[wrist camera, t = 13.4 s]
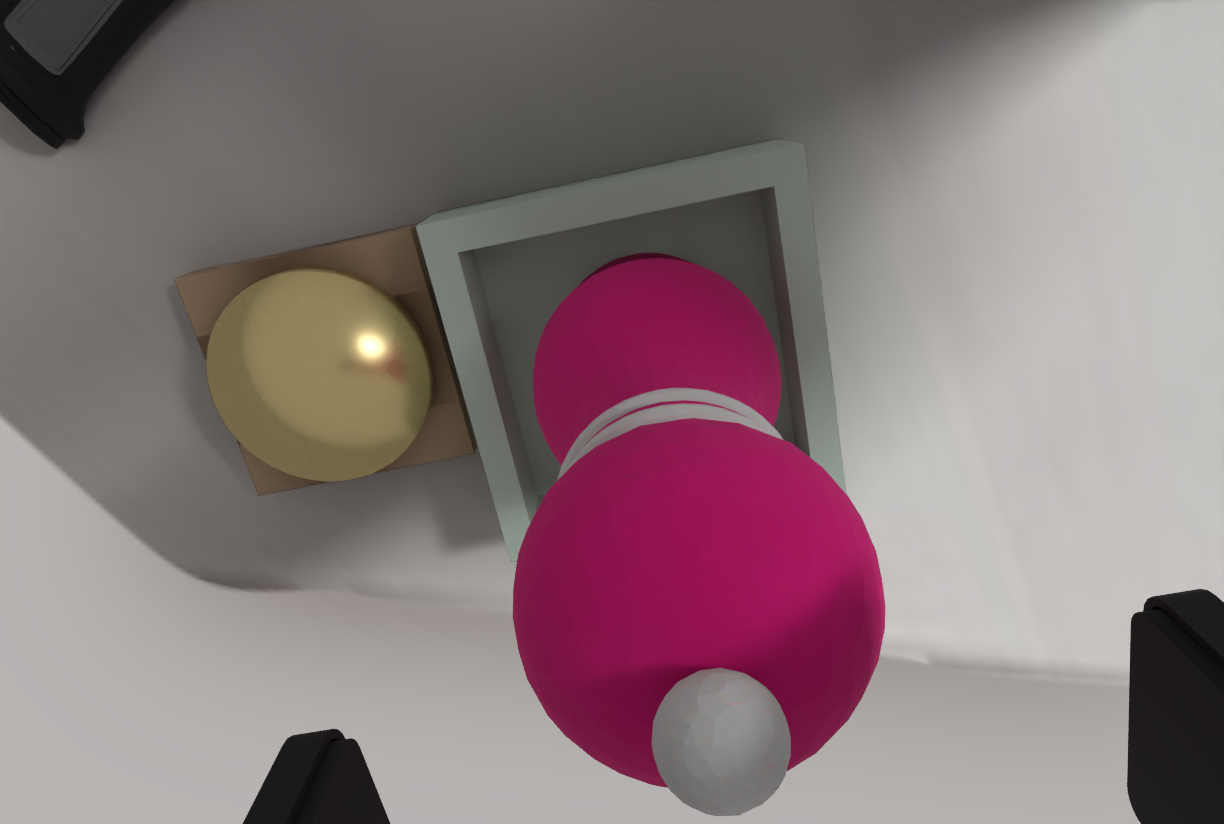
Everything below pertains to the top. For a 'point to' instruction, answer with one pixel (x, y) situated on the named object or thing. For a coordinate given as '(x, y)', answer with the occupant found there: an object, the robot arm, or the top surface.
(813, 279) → the trough tray
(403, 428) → the gold disc
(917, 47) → the top surface
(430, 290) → the checker plinth
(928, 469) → the top surface
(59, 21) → the electric trimmer
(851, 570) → the pepper mill
